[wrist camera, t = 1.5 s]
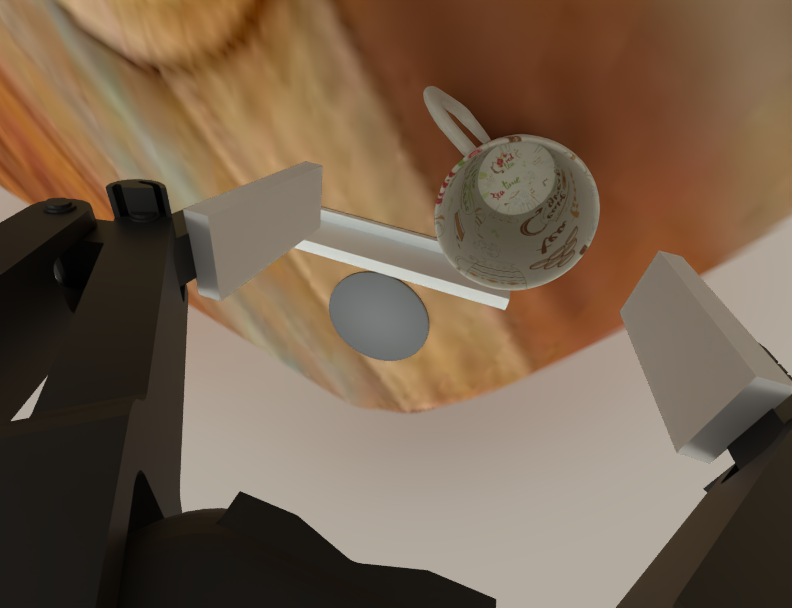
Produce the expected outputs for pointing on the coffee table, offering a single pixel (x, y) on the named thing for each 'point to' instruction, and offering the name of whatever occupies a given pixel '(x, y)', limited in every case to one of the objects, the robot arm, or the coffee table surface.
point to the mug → (511, 204)
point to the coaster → (379, 316)
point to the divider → (395, 255)
